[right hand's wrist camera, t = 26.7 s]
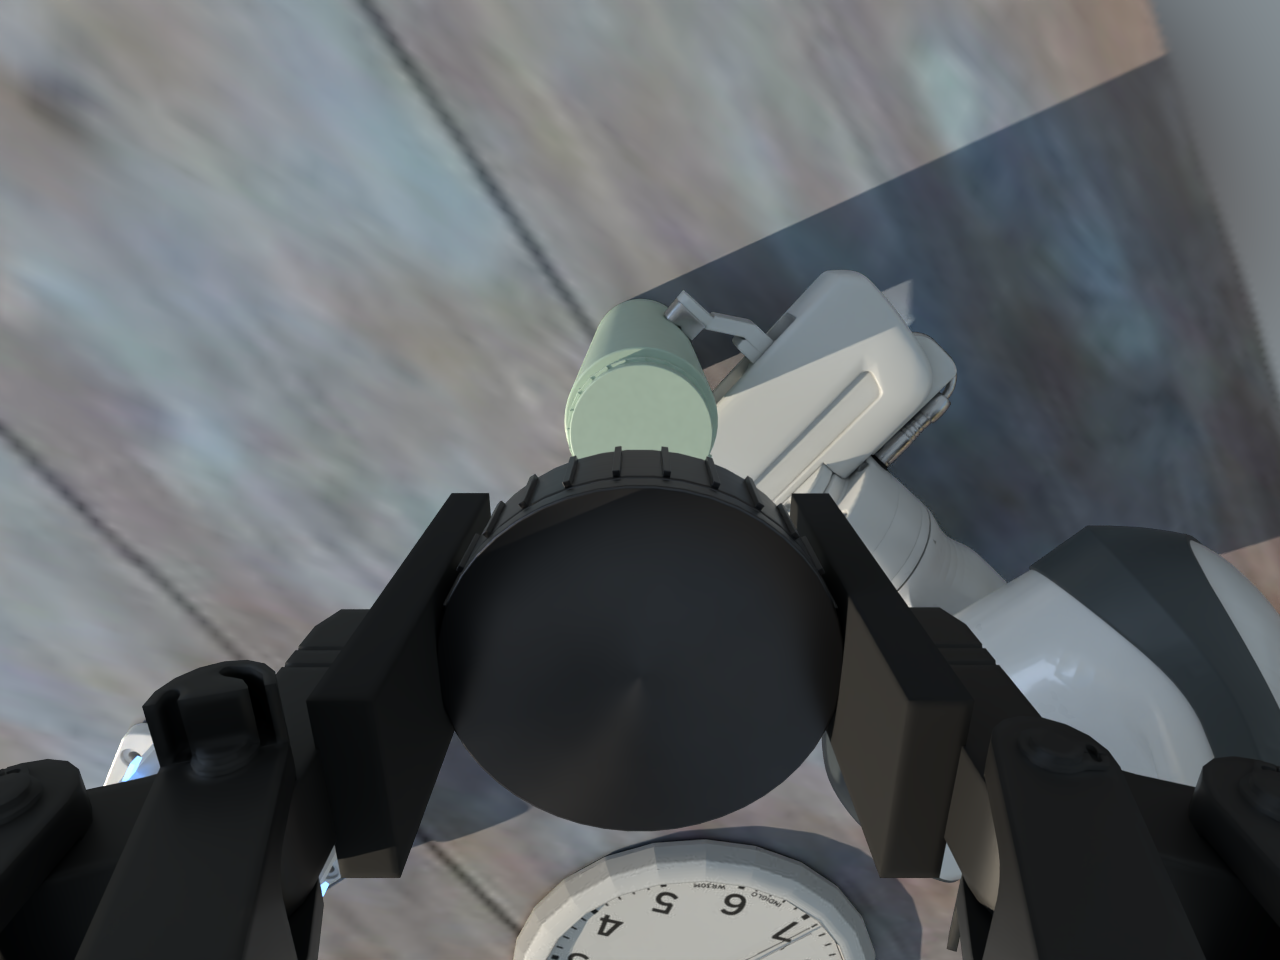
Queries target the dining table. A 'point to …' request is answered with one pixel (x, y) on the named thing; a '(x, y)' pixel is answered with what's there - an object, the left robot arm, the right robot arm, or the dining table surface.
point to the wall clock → (695, 909)
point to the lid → (640, 643)
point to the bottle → (640, 388)
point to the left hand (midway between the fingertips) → (626, 356)
